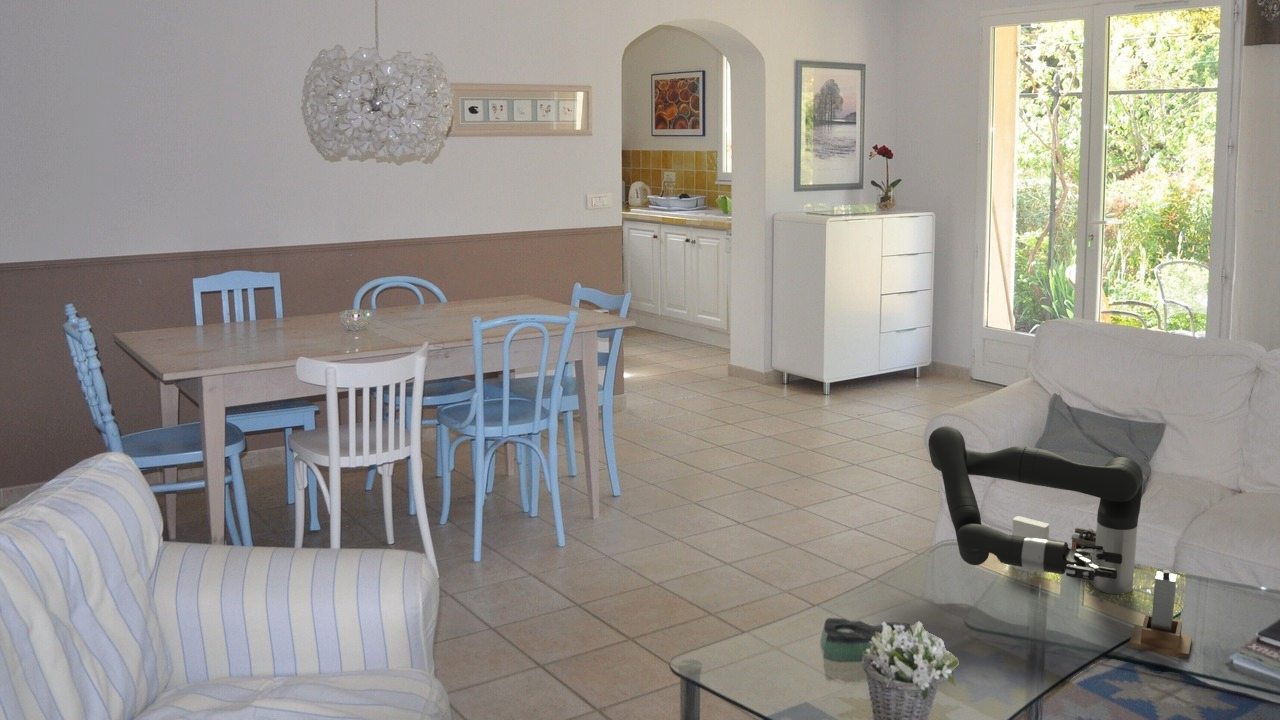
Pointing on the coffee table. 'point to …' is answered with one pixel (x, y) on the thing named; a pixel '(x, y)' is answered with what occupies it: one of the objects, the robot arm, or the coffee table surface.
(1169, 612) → the tall gray rectangular post
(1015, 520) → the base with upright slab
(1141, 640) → the brown open box stand
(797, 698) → the coffee table surface
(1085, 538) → the lighter
